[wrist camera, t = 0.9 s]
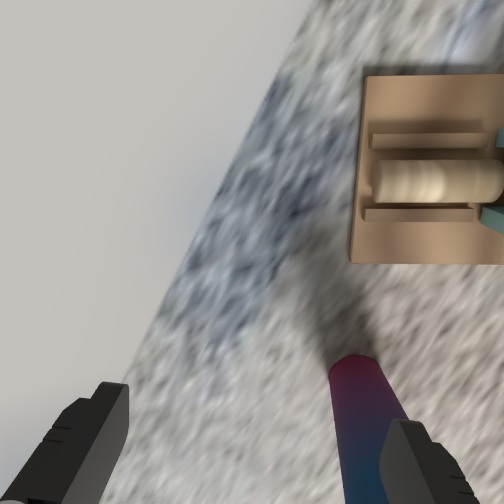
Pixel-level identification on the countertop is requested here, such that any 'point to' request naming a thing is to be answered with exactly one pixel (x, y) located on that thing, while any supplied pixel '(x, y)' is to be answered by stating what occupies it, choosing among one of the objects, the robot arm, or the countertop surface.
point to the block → (494, 216)
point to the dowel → (437, 181)
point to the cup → (362, 425)
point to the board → (427, 148)
